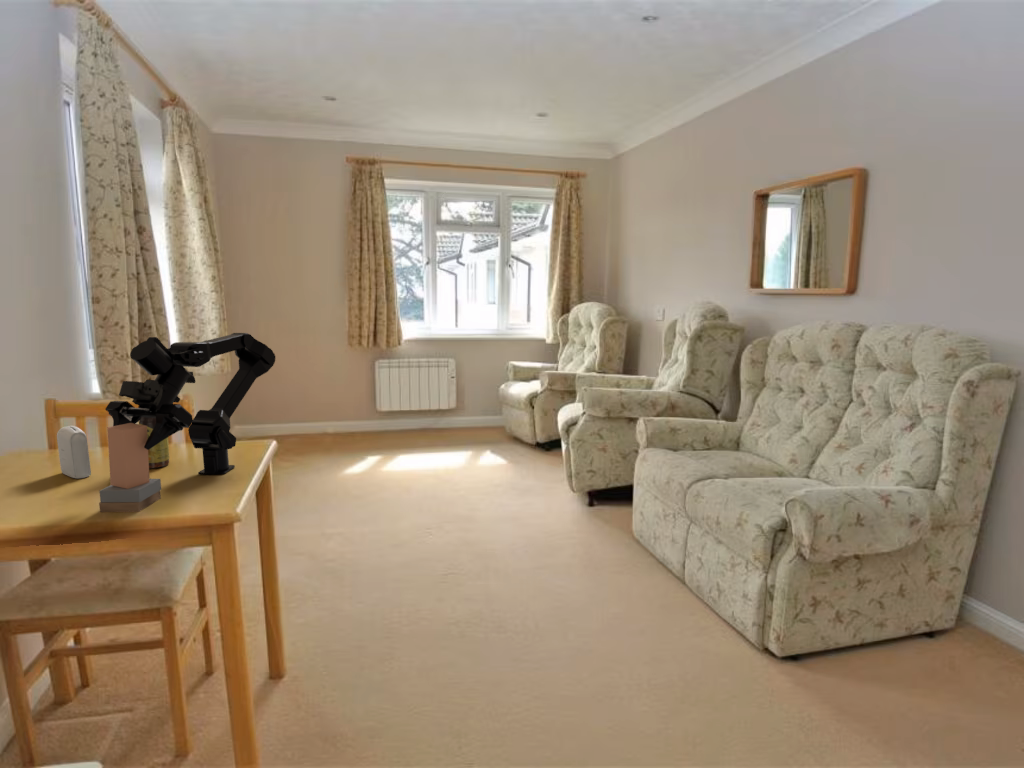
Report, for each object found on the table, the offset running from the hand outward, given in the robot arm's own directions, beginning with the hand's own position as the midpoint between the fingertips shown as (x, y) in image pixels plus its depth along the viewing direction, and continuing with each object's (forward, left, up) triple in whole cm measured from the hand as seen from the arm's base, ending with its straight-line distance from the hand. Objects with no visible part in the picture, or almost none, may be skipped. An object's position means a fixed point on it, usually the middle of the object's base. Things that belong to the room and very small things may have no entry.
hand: (128, 447), depth 126 cm
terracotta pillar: (+1, 0, -8) cm, 8 cm away
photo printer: (-21, -27, -13) cm, 37 cm away
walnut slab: (+1, 0, -13) cm, 13 cm away
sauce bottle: (-28, -11, -13) cm, 33 cm away
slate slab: (+1, 0, -10) cm, 11 cm away
